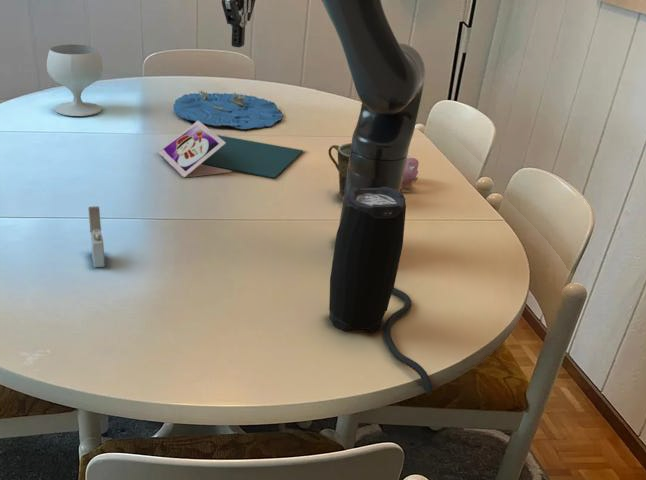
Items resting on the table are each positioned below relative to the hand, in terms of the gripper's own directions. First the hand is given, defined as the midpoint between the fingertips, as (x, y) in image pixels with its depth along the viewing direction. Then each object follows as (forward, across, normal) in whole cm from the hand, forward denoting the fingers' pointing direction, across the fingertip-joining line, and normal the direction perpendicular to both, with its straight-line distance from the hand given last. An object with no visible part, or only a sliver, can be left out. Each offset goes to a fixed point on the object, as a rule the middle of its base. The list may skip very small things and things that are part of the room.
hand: (237, 46), depth 144 cm
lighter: (+25, +52, -3) cm, 58 cm away
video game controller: (+25, -7, +36) cm, 44 cm away
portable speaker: (+25, +52, +41) cm, 71 cm away
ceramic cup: (+25, +5, +28) cm, 38 cm away
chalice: (+24, -18, -51) cm, 59 cm away
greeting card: (+24, +7, -2) cm, 25 cm away
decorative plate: (+25, -37, -16) cm, 47 cm away
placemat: (+25, -7, -1) cm, 26 cm away
